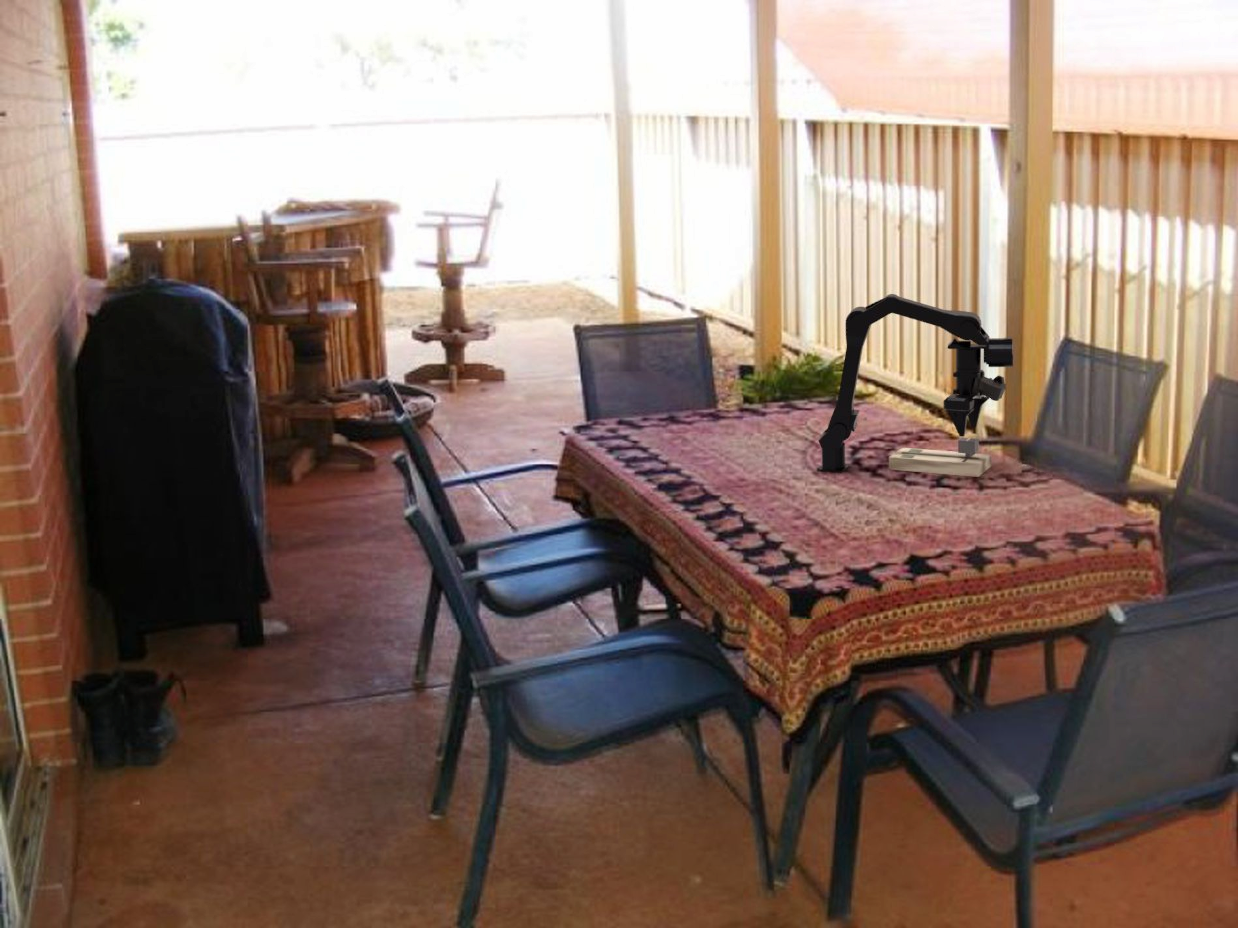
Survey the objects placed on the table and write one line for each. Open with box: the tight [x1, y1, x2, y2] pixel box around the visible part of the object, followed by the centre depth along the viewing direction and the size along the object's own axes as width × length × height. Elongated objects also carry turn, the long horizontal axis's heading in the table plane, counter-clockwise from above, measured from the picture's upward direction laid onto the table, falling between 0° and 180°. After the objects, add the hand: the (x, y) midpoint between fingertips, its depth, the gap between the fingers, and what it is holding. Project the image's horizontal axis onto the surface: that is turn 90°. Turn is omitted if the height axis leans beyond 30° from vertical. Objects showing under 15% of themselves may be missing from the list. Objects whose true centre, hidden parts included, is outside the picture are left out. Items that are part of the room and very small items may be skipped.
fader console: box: [888, 447, 992, 478], centre depth 363 cm, size 10×22×3 cm, turn 60°
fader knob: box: [957, 437, 980, 457], centre depth 358 cm, size 3×4×4 cm
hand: (967, 431), depth 357 cm, fingers open, 9 cm apart
